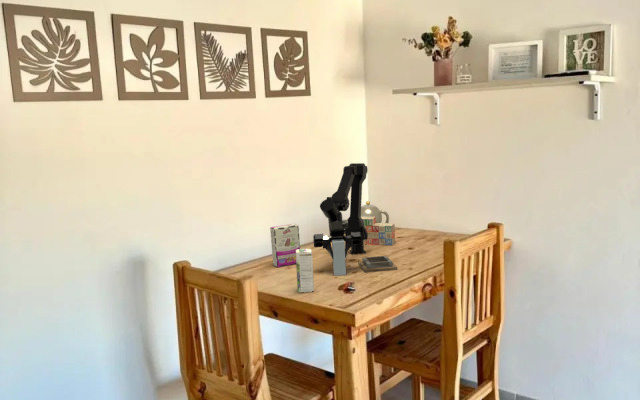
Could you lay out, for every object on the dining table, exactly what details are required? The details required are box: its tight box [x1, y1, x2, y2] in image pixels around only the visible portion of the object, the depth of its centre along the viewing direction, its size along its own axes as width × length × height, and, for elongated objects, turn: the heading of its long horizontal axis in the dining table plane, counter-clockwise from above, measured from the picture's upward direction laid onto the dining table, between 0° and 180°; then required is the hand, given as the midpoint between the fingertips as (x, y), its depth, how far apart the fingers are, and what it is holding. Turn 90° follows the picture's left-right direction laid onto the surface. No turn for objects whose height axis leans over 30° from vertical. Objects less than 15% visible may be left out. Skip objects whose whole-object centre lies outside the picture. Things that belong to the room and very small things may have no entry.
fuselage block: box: [331, 239, 347, 277], centre depth 225 cm, size 4×4×13 cm
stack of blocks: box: [346, 217, 396, 246], centre depth 274 cm, size 21×6×12 cm, turn 69°
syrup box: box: [295, 248, 315, 294], centre depth 206 cm, size 6×6×14 cm
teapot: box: [361, 200, 390, 223], centre depth 296 cm, size 18×14×16 cm
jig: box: [357, 255, 398, 273], centre depth 233 cm, size 13×13×3 cm
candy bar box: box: [269, 223, 301, 268], centre depth 243 cm, size 11×5×16 cm, turn 118°
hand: (339, 258), depth 224 cm, fingers closed on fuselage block, 4 cm apart
